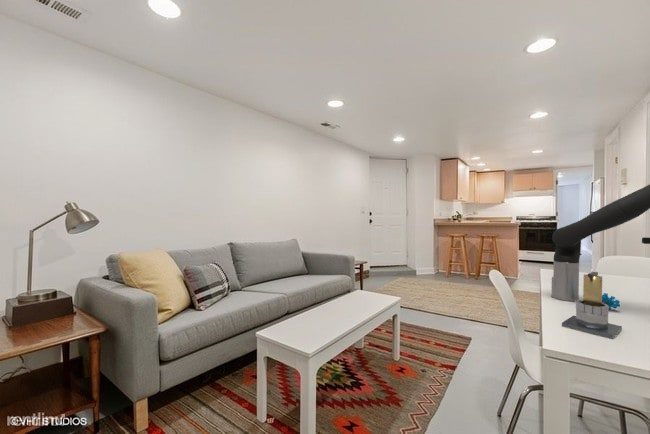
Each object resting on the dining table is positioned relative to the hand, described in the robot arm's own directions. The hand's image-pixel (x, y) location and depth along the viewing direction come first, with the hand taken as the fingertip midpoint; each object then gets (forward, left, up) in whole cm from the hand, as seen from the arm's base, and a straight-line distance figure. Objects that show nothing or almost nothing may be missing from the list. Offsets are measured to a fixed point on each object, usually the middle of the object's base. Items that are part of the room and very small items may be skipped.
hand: (649, 241), depth 102 cm
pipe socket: (-11, -16, -30) cm, 36 cm away
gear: (-15, +15, -30) cm, 37 cm away
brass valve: (-11, -16, -24) cm, 31 cm away
